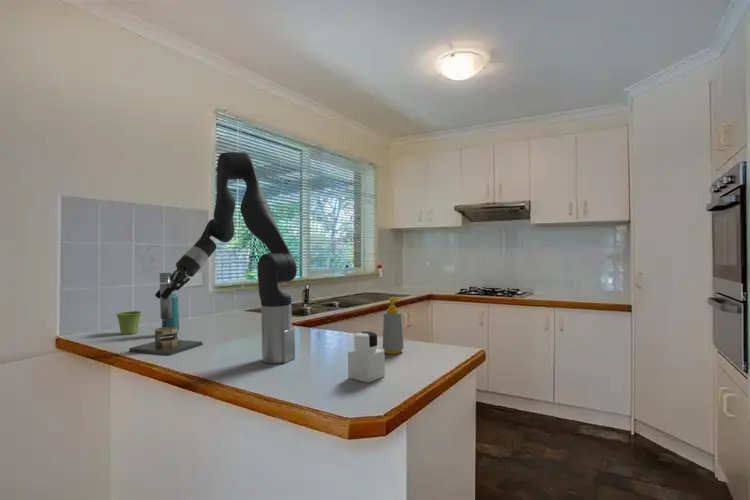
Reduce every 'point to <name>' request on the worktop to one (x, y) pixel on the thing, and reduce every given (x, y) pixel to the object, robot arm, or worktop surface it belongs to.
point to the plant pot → (129, 322)
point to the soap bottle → (392, 329)
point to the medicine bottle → (366, 358)
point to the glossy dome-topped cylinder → (167, 303)
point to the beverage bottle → (175, 315)
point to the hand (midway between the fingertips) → (160, 297)
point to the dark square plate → (166, 343)
